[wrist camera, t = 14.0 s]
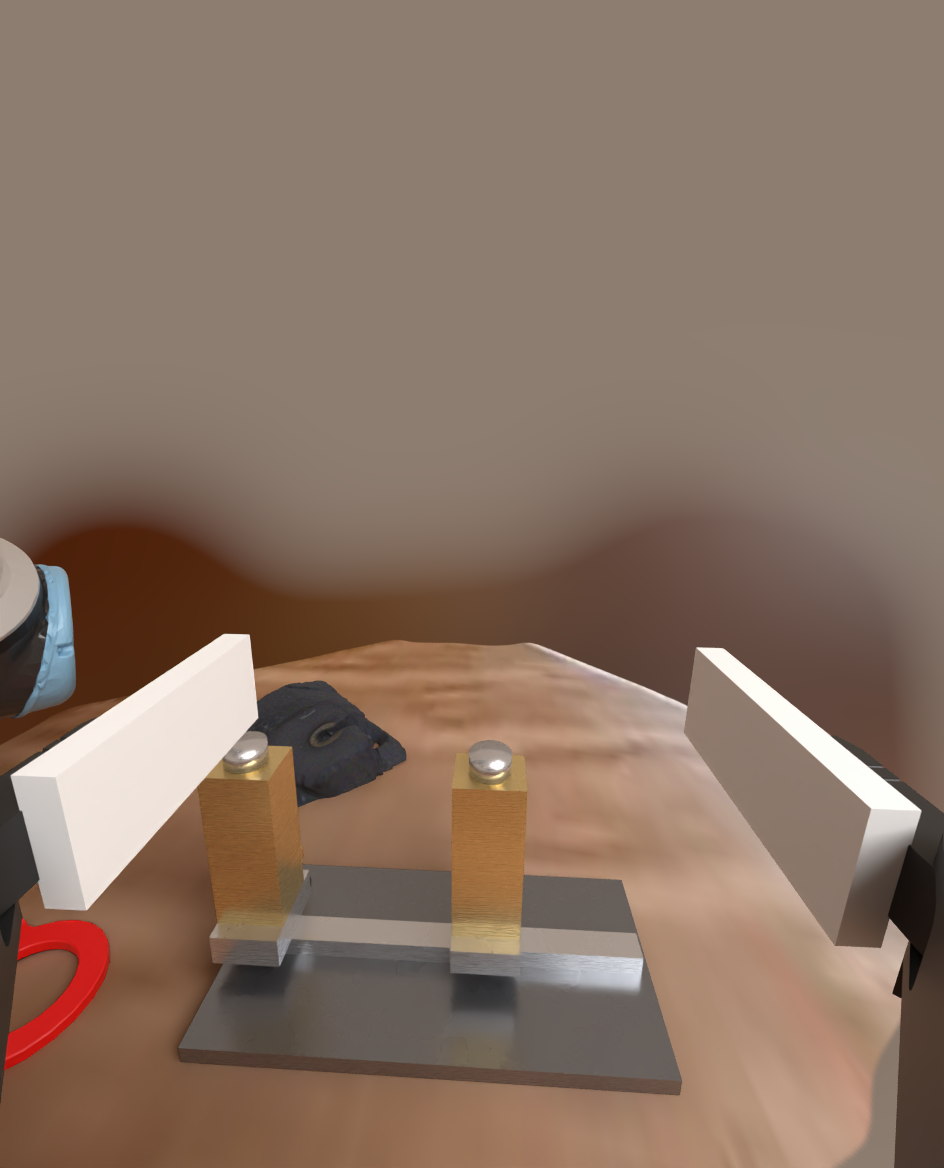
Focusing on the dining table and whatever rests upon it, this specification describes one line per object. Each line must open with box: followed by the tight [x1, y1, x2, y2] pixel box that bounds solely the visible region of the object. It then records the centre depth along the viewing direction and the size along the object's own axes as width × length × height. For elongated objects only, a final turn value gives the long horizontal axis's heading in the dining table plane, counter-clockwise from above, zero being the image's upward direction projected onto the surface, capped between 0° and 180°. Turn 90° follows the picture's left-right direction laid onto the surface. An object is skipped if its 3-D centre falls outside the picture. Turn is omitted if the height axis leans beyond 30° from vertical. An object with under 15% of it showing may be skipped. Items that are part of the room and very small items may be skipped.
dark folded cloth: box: [246, 681, 406, 807], centre depth 54 cm, size 15×22×5 cm
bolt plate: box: [178, 731, 682, 1095], centre depth 29 cm, size 26×12×15 cm, turn 87°
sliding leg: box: [450, 740, 527, 977], centre depth 30 cm, size 4×7×14 cm, turn 177°
